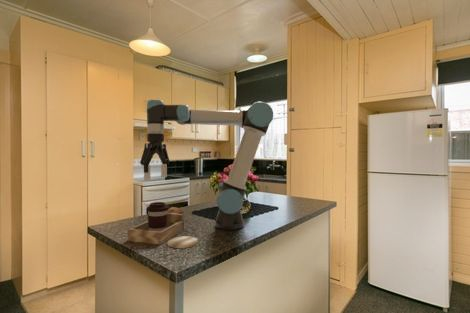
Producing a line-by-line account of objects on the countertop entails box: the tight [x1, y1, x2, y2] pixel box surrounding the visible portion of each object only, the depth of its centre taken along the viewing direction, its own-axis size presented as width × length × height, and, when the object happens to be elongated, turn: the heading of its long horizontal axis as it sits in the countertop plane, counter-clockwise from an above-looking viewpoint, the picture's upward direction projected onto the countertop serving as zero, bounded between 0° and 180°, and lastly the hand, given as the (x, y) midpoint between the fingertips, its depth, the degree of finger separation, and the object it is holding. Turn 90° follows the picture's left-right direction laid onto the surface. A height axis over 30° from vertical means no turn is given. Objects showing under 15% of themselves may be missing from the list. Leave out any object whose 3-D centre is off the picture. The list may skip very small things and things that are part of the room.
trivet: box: [166, 235, 199, 249], centre depth 111 cm, size 13×13×1 cm
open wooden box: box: [127, 213, 185, 245], centre depth 121 cm, size 16×21×8 cm
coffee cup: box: [146, 201, 170, 232], centre depth 121 cm, size 10×10×15 cm
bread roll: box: [167, 206, 184, 214], centre depth 154 cm, size 10×10×8 cm
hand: (156, 178), depth 121 cm, fingers open, 13 cm apart
